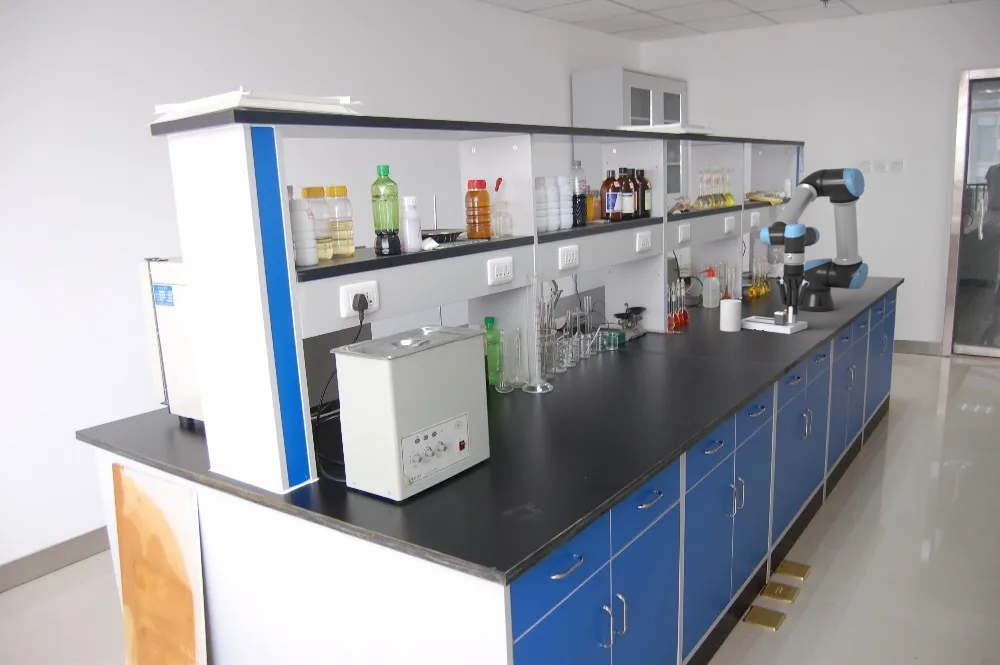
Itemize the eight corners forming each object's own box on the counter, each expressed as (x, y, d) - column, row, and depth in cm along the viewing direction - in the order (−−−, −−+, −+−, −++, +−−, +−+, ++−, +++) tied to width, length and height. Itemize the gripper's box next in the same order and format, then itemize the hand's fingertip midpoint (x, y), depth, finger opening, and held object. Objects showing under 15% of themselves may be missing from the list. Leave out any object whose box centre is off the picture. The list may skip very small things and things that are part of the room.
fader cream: (777, 322, 299) (777, 311, 298) (786, 323, 296) (786, 312, 295) (774, 323, 297) (774, 312, 296) (782, 324, 294) (783, 313, 293)
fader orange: (787, 319, 304) (787, 308, 303) (795, 320, 301) (796, 309, 300) (783, 320, 302) (784, 309, 301) (792, 321, 300) (792, 310, 299)
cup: (738, 327, 307) (738, 299, 305) (742, 331, 299) (743, 302, 297) (718, 327, 308) (718, 299, 306) (722, 331, 300) (722, 302, 298)
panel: (753, 321, 318) (753, 315, 317) (807, 327, 300) (807, 321, 300) (735, 327, 308) (735, 320, 308) (789, 334, 291) (790, 327, 290)
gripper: (773, 263, 290) (771, 322, 295) (805, 265, 281) (803, 325, 286) (782, 261, 295) (780, 319, 300) (814, 263, 286) (812, 322, 291)
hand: (791, 322), depth 293 cm, fingers closed
